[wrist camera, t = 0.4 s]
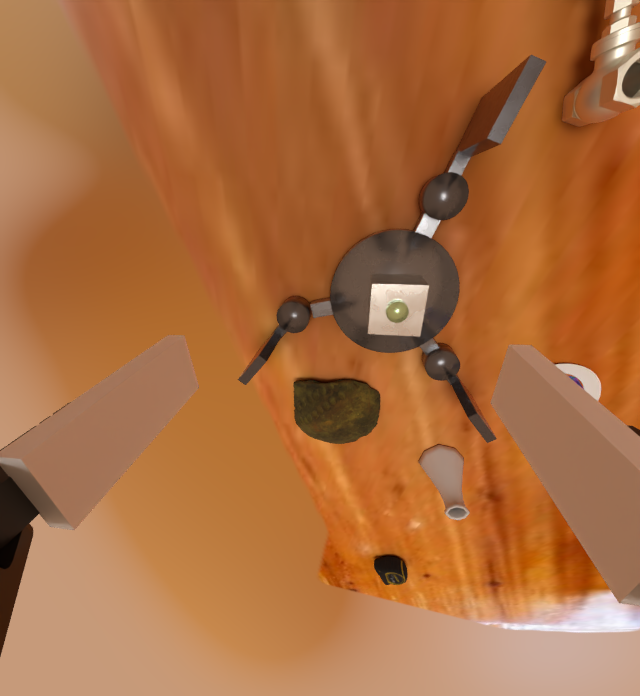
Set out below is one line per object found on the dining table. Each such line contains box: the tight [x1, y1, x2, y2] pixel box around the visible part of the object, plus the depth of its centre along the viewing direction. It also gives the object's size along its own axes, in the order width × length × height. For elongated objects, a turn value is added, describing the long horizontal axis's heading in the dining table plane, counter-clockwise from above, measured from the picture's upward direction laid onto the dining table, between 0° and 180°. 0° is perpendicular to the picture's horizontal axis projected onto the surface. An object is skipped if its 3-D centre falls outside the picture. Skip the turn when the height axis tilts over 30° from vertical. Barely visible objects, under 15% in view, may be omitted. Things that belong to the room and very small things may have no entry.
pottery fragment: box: [293, 379, 380, 444], centre depth 46 cm, size 14×14×4 cm
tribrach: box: [310, 55, 546, 443], centre depth 32 cm, size 36×25×9 cm
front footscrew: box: [238, 296, 312, 385], centre depth 38 cm, size 11×4×9 cm, turn 140°
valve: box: [562, 0, 640, 127], centre depth 22 cm, size 7×7×12 cm
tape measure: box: [374, 556, 407, 585], centre depth 65 cm, size 7×7×4 cm
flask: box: [419, 445, 470, 520], centre depth 45 cm, size 7×7×10 cm
